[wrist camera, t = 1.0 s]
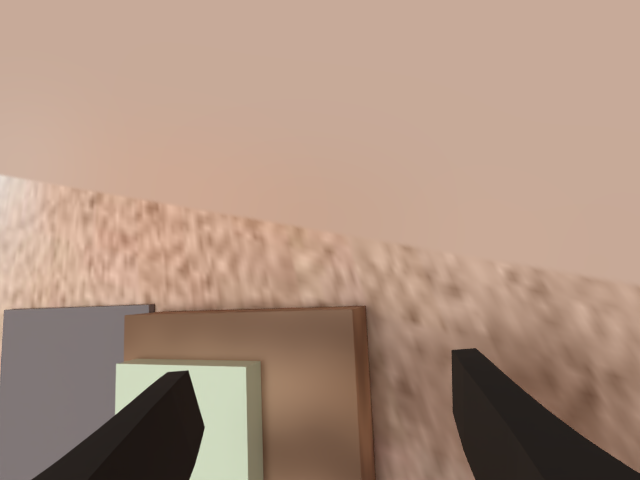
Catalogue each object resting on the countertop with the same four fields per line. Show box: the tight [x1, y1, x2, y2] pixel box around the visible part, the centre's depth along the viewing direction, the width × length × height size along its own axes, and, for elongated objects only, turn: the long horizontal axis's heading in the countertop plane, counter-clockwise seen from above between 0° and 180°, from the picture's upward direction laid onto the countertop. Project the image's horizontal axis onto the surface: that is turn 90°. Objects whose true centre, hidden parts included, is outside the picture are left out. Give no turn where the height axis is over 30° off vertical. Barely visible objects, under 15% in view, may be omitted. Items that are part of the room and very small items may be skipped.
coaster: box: [115, 359, 263, 480], centre depth 20 cm, size 8×8×2 cm
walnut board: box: [124, 306, 376, 480], centre depth 21 cm, size 15×14×3 cm
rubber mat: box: [0, 304, 154, 480], centre depth 27 cm, size 16×14×1 cm
